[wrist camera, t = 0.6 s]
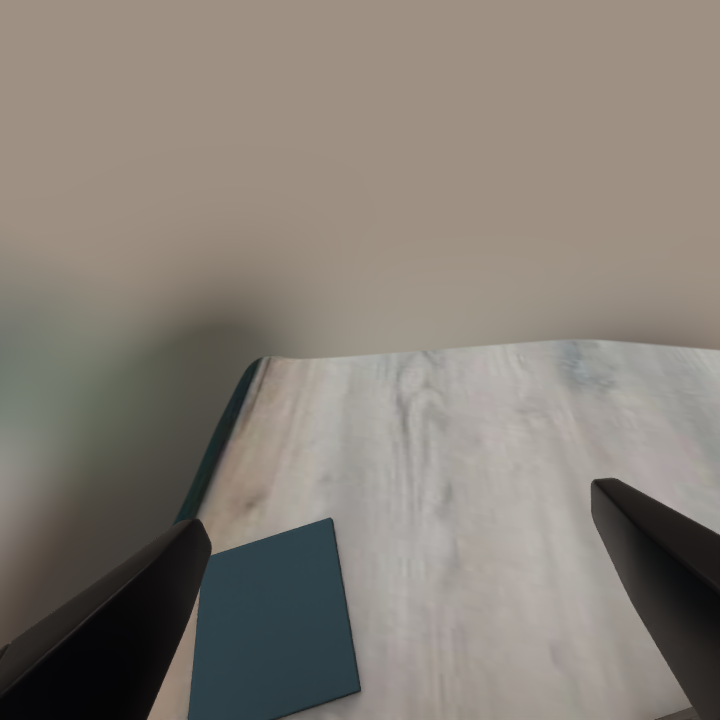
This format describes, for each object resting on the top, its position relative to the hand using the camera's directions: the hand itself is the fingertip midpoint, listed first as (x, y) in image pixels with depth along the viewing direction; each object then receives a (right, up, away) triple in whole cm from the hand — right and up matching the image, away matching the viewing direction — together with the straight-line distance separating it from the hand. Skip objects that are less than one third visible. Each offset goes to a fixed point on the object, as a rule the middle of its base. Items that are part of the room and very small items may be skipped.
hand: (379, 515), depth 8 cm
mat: (-6, -12, +13) cm, 19 cm away
